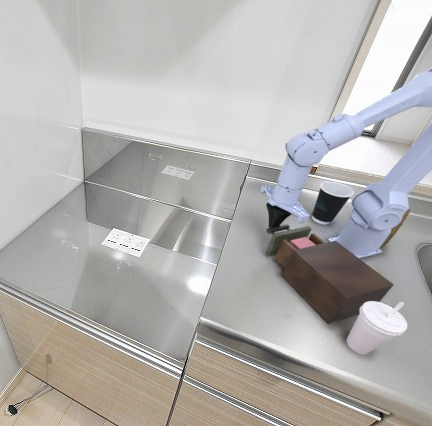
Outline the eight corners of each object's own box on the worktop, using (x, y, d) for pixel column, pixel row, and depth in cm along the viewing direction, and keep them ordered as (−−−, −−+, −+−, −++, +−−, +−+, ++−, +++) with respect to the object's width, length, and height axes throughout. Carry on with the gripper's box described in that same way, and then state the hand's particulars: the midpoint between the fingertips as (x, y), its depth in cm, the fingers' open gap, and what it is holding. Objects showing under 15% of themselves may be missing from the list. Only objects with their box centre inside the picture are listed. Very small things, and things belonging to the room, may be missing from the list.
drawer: (254, 242, 79) (262, 223, 75) (287, 235, 81) (295, 216, 77) (302, 290, 66) (313, 270, 62) (339, 280, 68) (352, 260, 64)
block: (298, 251, 75) (305, 236, 72) (312, 263, 71) (320, 248, 68) (283, 254, 74) (290, 240, 71) (297, 267, 70) (304, 252, 67)
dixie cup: (338, 217, 89) (355, 186, 82) (334, 231, 84) (352, 199, 77) (308, 208, 93) (323, 178, 86) (303, 221, 88) (318, 190, 81)
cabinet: (281, 275, 71) (293, 250, 66) (320, 265, 73) (335, 240, 68) (327, 324, 60) (346, 298, 55) (372, 310, 63) (394, 284, 58)
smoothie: (364, 367, 53) (408, 323, 45) (330, 337, 58) (365, 292, 50) (386, 353, 55) (432, 308, 47) (352, 325, 60) (389, 280, 52)
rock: (396, 250, 74) (419, 233, 77) (385, 219, 73) (409, 203, 76) (350, 247, 84) (372, 232, 87) (340, 220, 84) (363, 206, 86)
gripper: (256, 172, 76) (243, 214, 84) (298, 203, 64) (279, 248, 73) (279, 168, 77) (265, 210, 85) (325, 197, 66) (303, 242, 74)
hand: (273, 227), depth 79 cm, fingers closed
